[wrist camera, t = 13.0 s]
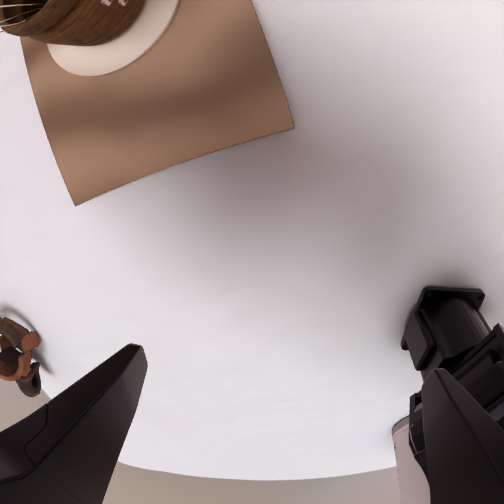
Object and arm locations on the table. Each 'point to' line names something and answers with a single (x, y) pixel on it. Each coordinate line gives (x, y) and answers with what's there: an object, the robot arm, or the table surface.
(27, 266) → the table surface
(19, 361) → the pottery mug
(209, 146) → the walnut board
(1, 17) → the utensil holder
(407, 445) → the travel mug
